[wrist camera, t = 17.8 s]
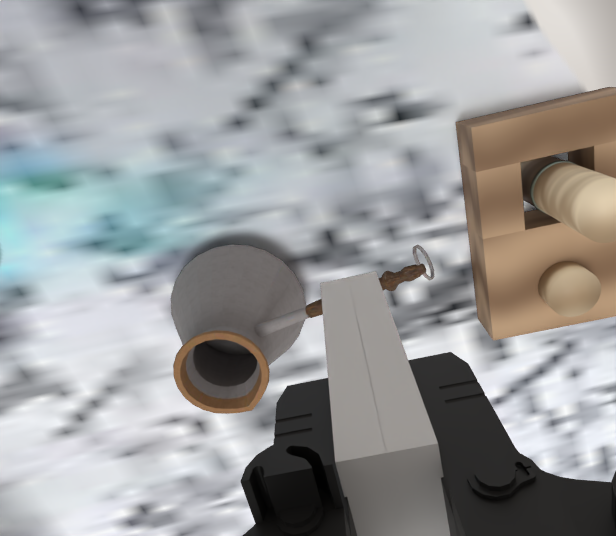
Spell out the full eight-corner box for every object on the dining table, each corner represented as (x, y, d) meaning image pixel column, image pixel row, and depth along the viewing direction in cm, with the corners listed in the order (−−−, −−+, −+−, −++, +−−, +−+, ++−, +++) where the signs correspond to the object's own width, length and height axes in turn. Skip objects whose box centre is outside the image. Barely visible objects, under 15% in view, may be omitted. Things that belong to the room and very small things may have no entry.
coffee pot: (229, 370, 49) (200, 491, 35) (151, 278, 45) (84, 373, 31) (424, 254, 44) (480, 338, 30) (355, 143, 41) (383, 181, 27)
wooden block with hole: (455, 122, 40) (480, 130, 35) (608, 86, 39) (659, 89, 34) (478, 318, 47) (501, 352, 41) (610, 292, 46) (652, 323, 40)
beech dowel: (509, 158, 41) (576, 188, 31) (559, 147, 41) (644, 173, 31) (512, 206, 43) (578, 249, 33) (561, 195, 43) (643, 236, 32)
